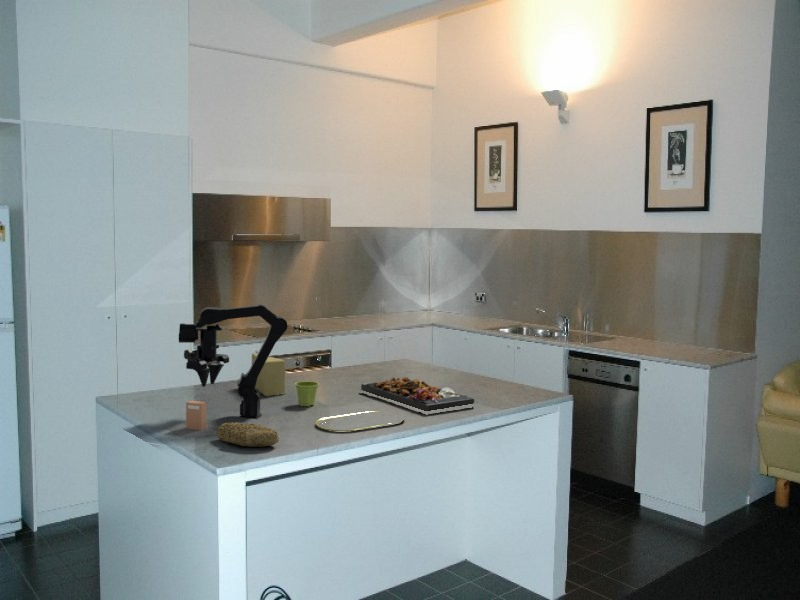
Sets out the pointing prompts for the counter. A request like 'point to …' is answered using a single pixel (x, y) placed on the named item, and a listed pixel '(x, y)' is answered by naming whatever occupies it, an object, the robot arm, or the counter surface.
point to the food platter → (417, 394)
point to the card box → (196, 415)
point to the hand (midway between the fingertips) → (208, 385)
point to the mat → (191, 431)
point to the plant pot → (306, 392)
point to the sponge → (247, 434)
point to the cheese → (271, 376)
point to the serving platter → (343, 416)
